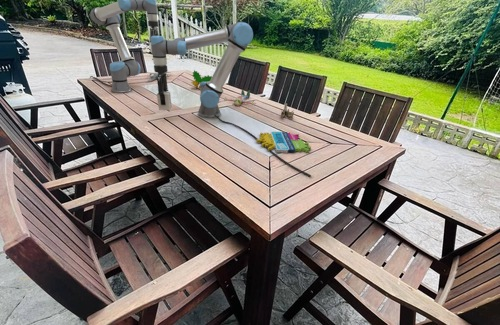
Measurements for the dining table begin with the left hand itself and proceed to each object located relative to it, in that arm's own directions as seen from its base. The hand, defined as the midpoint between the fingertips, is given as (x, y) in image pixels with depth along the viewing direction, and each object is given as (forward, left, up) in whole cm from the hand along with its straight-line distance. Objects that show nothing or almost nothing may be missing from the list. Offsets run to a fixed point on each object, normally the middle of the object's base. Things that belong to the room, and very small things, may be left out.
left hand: (156, 50), depth 209 cm
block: (+66, -14, -26) cm, 73 cm away
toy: (+44, +56, -35) cm, 79 cm away
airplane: (-60, +14, -35) cm, 71 cm away
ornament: (-6, +42, -35) cm, 55 cm away
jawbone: (+90, +67, -35) cm, 117 cm away
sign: (+125, +36, -35) cm, 135 cm away
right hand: (+66, -14, -23) cm, 71 cm away
